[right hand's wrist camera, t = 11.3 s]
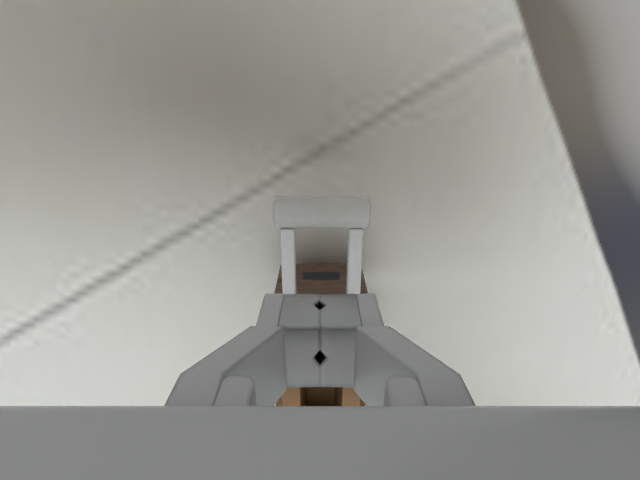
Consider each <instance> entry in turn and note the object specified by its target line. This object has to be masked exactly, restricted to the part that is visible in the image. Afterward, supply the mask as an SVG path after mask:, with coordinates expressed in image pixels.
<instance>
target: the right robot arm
mask: <svg viewBox="0 0 640 480" xmlns="http://www.w3.org/2000/svg"><path fill="white" fill-rule="evenodd" d="M294 387H346V388H353V389H354V391H355V392H356V393H357V394H358V396H359V397H360V398H361V399H362V401H363V402H364V403H365V404H366V406H274V405H275V403H276V402H277V401H278V400H279V398H280V397H281V396H282V395H283V394H284V392H285V391H286V390H287V388H294ZM0 480H640V406H476V405H475V403H474V401H473V399H472V397H471V395H470V393H469V391H468V389H467V387H466V385H465V383H464V381H463V379H462V377H461V375H460V374H458V373H457V372H455V371H454V370H453V369H451V368H450V367H448V366H447V365H445V364H444V363H442V362H441V361H439V360H438V359H436V358H435V357H433V356H432V355H431V354H429V353H428V352H426V351H425V350H423V349H422V348H420V347H419V346H417V345H416V344H414V343H413V342H411V341H410V340H408V339H407V338H406V337H404V336H403V335H401V334H400V333H398V332H397V331H395V330H394V329H392V328H391V327H389V326H384V324H383V321H382V317H381V314H380V310H379V307H378V303H377V299H376V296H375V294H374V293H367V294H323V295H320V294H283V293H274V294H265V296H264V299H263V303H262V306H261V310H260V313H259V317H258V321H257V324H256V326H251V327H249V328H248V329H246V330H245V331H243V332H242V333H240V334H239V335H237V336H236V337H234V338H233V339H231V340H230V341H228V342H227V343H226V344H224V345H223V346H221V347H220V348H218V349H217V350H215V351H214V352H212V353H211V354H209V355H208V356H206V357H205V358H203V359H202V360H200V361H199V362H198V363H196V364H195V365H193V366H192V367H190V368H189V369H187V370H186V371H184V372H183V373H181V374H180V376H179V378H178V380H177V382H176V384H175V386H174V388H173V390H172V392H171V394H170V396H169V398H168V400H167V402H166V403H165V405H164V406H0Z"/></svg>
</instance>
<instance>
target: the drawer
mask: <svg viewBox="0 0 640 480" xmlns="http://www.w3.org/2000/svg"><path fill="white" fill-rule="evenodd" d="M273 218H274V225H275V227H276V228H281V229H280V243H281V266H280V271H279V275H278V280H277V284H276V288H275V293H283V294H320V295H323V294H367V293H368V292H367V287H366V283H365V279H364V275H363V271H362V249H363V228H368V227H369V223H370V200H369V197H275V198H274V205H273ZM295 228H348V253H347V264H296V250H295ZM282 401H283V406H360V397H359V396H358V394H357V393H356V392H355V391H354V389H353V388H346V387H294V388H287V390H286V391H285V392H284V394H283V395H282Z"/></svg>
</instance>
